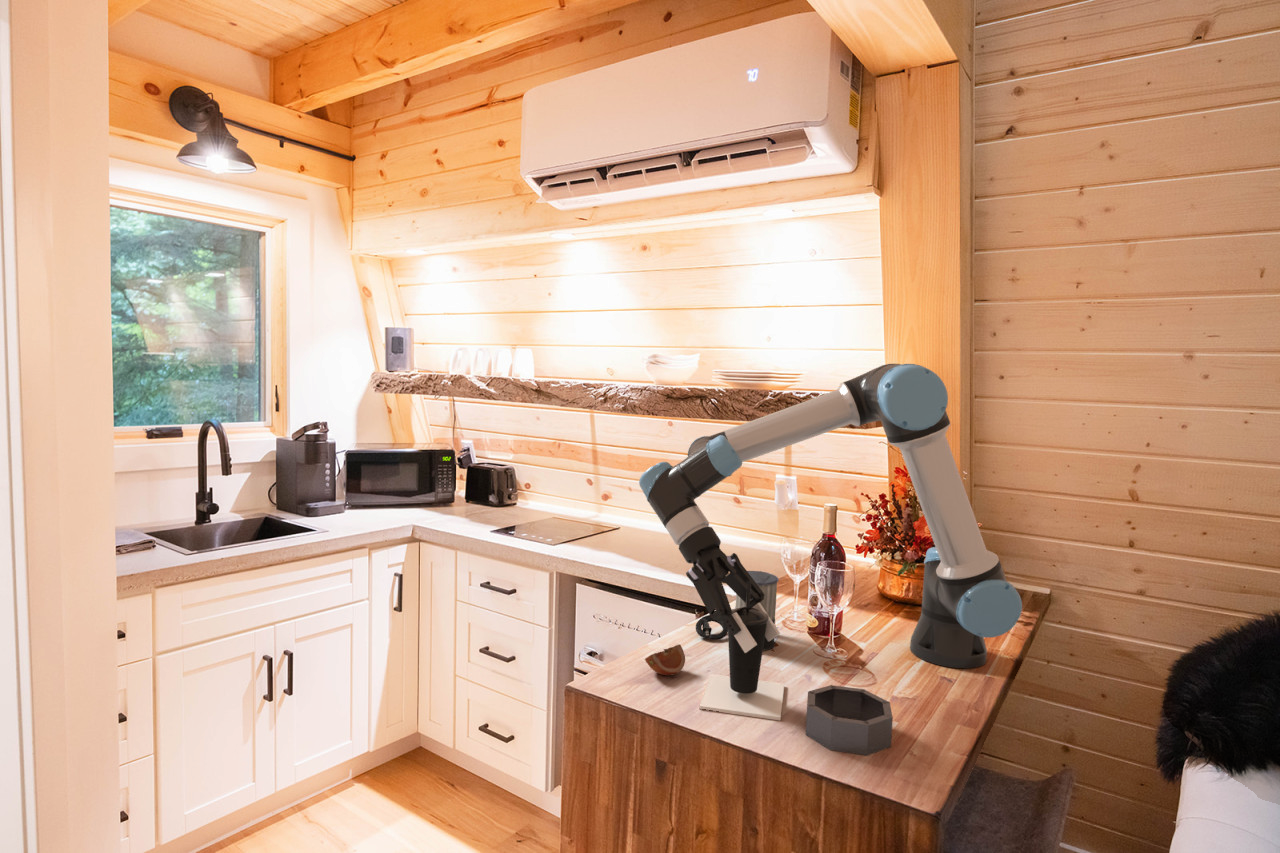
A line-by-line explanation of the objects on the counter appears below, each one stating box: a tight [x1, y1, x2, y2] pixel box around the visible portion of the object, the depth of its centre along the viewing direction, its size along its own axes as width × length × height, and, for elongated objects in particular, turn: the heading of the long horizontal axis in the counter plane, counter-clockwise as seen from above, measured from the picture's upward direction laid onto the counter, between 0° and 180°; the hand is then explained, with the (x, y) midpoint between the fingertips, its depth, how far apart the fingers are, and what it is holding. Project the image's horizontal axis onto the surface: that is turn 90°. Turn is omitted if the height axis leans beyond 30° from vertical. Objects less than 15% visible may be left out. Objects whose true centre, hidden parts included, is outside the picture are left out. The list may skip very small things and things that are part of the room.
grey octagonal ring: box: [805, 684, 894, 756], centre depth 129 cm, size 13×13×5 cm
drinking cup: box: [727, 580, 769, 694], centre depth 140 cm, size 8×8×20 cm
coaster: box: [699, 673, 785, 721], centre depth 141 cm, size 14×14×1 cm
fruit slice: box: [644, 644, 686, 676], centre depth 150 cm, size 8×7×5 cm
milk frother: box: [695, 570, 780, 651], centre depth 168 cm, size 14×16×15 cm
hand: (762, 642), depth 137 cm, fingers closed on drinking cup, 7 cm apart
